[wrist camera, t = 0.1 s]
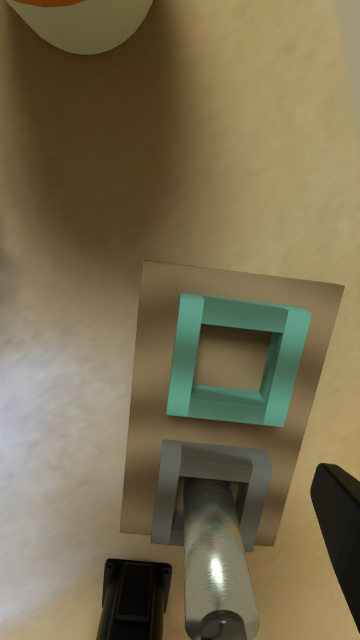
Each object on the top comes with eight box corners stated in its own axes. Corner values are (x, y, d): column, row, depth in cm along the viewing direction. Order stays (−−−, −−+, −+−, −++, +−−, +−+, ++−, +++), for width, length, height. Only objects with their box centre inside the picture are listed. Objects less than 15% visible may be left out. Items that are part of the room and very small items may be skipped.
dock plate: (269, 535, 27) (280, 571, 24) (122, 521, 26) (114, 556, 23) (337, 283, 20) (363, 290, 17) (144, 260, 20) (138, 263, 17)
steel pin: (226, 506, 24) (254, 668, 15) (180, 502, 24) (180, 662, 15) (234, 469, 23) (269, 617, 14) (186, 464, 23) (190, 610, 14)
